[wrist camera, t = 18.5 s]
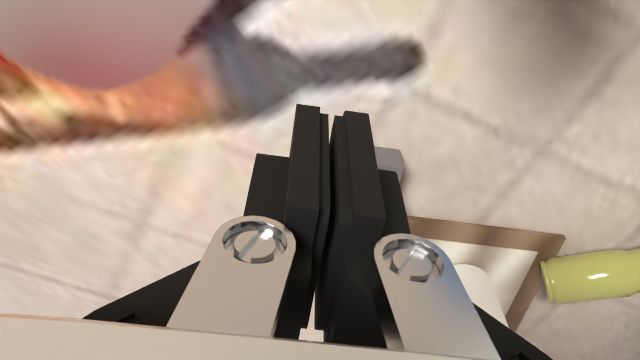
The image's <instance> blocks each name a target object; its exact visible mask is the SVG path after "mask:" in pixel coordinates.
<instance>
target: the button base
mask: <svg viewBox="0 0 640 360" xmlns="http://www.w3.org/2000/svg"><path fill="white" fill-rule="evenodd" d="M374 149H375V155H376V161H377V166H378V169H382V170H390V171H395V172H396V173H397V175H398V179H399V184H400V181H401V177H402V174H403V170H404V167H403V163H402V159H401V155H400V151H399V150H396V149H389V148H381V147H374Z"/></svg>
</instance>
